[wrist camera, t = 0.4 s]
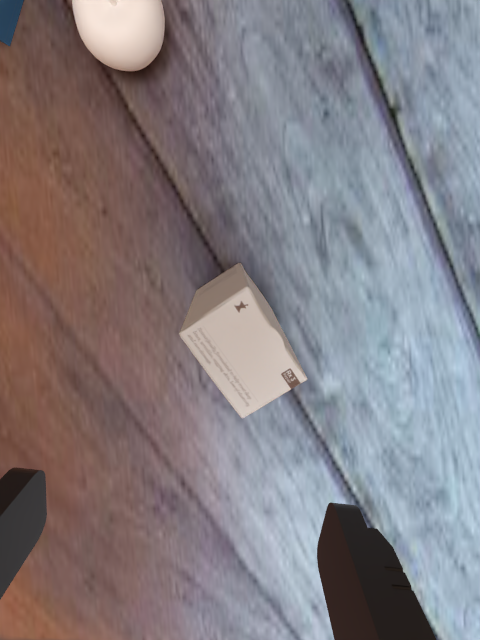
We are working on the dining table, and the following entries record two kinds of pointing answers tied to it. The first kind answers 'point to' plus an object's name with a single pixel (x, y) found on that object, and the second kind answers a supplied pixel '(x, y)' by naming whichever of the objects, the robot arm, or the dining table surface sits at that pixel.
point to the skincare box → (240, 342)
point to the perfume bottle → (9, 19)
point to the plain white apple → (121, 31)
